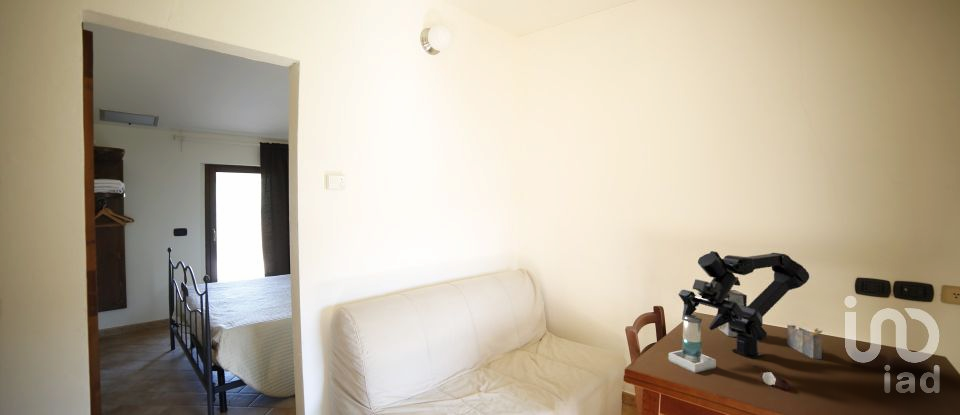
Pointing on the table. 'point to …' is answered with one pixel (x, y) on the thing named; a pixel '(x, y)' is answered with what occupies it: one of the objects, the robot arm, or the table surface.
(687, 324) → the tin canister
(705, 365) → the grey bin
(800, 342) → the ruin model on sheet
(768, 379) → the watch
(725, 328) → the coffee box
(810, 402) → the table surface
